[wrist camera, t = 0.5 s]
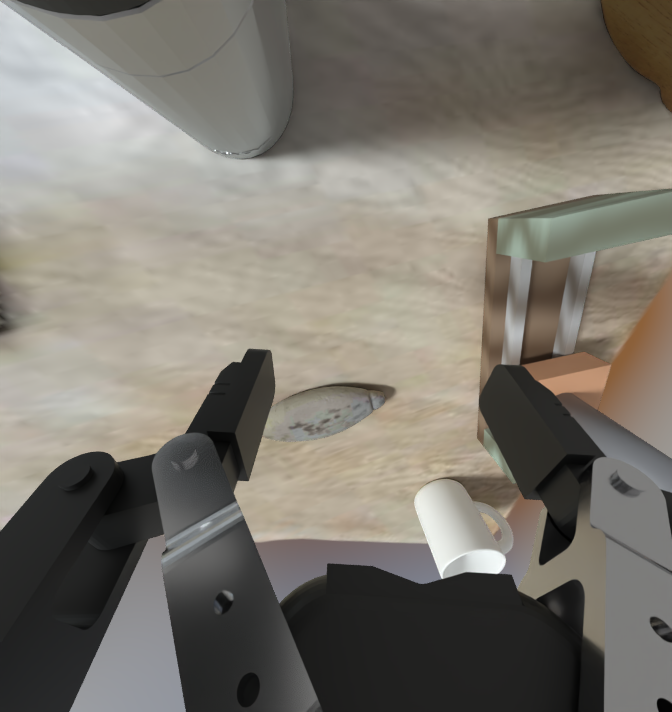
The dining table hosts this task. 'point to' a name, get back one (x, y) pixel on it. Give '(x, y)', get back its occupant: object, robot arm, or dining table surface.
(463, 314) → the dining table surface
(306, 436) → the decorative stone
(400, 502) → the dining table surface
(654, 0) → the wooden carving
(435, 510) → the mug
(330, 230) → the dining table surface
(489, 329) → the rail bed
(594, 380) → the carriage
